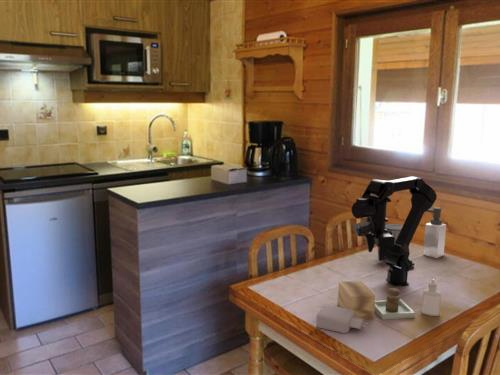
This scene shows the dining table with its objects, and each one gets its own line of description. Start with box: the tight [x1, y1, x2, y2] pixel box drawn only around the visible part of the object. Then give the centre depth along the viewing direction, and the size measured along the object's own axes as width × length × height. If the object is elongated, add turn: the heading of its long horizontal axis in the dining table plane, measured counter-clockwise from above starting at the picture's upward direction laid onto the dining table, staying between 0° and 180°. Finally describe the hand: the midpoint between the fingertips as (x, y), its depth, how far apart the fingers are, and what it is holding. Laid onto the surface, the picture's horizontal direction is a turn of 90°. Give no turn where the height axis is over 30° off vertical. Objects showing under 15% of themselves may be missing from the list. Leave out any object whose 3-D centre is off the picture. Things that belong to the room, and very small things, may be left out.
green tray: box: [374, 298, 416, 321], centre depth 153 cm, size 11×10×2 cm
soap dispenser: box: [422, 206, 447, 259], centre depth 208 cm, size 6×9×22 cm
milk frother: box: [383, 223, 415, 266], centre depth 198 cm, size 14×16×15 cm
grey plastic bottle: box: [315, 303, 370, 334], centre depth 143 cm, size 5×9×15 cm
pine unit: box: [337, 280, 376, 320], centre depth 153 cm, size 8×12×8 cm, turn 8°
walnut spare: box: [385, 287, 401, 313], centre depth 153 cm, size 4×4×7 cm
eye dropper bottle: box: [420, 278, 442, 317], centre depth 151 cm, size 4×6×12 cm
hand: (375, 256), depth 169 cm, fingers open, 9 cm apart
